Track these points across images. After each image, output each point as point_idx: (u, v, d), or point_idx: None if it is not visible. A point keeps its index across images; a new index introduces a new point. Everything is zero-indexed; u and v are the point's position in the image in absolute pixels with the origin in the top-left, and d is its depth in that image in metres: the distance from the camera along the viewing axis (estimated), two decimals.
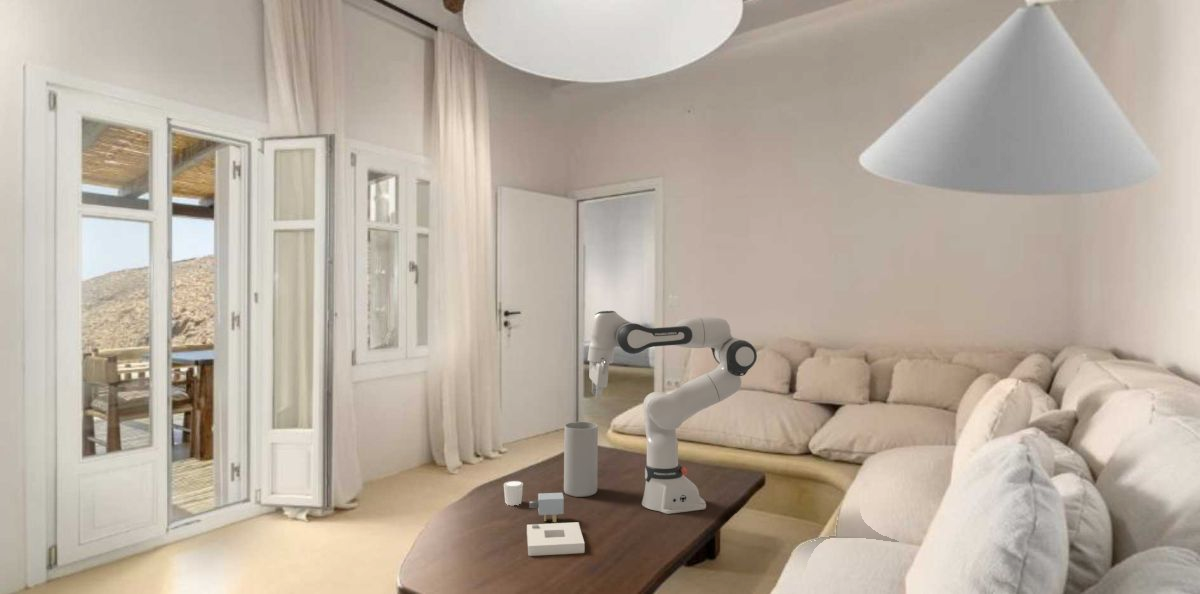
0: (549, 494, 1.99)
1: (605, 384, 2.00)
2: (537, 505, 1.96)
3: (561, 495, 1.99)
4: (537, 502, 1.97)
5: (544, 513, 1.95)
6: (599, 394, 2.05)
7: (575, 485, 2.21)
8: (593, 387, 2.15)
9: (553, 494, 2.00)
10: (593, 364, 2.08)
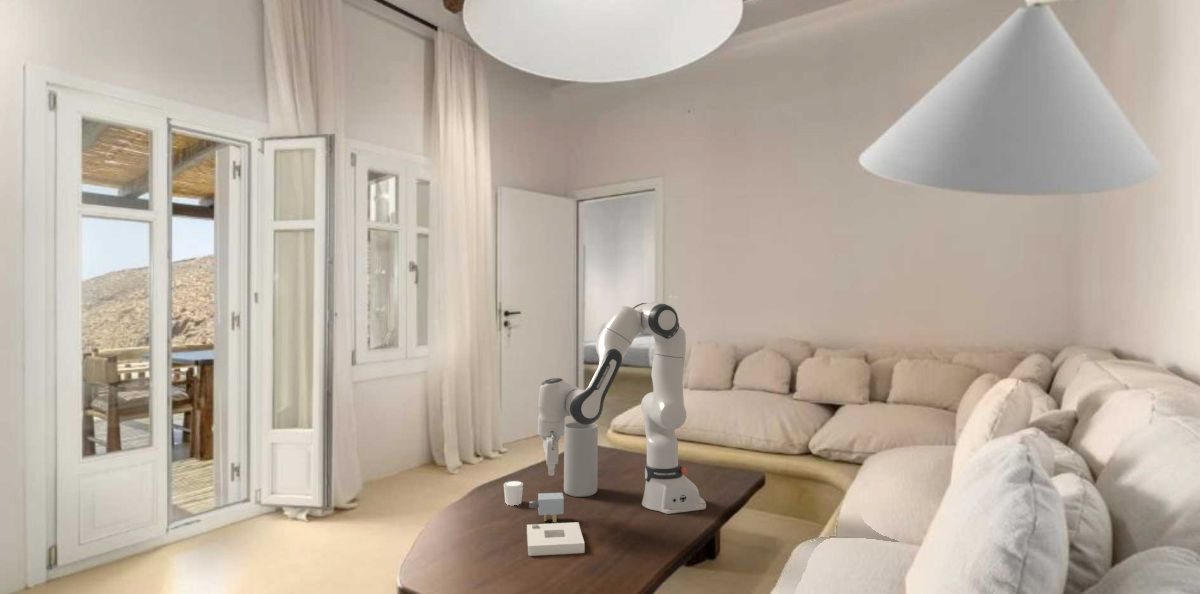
0: (549, 494, 1.99)
1: (556, 461, 1.88)
2: (537, 505, 1.96)
3: (561, 495, 1.99)
4: (537, 502, 1.97)
5: (544, 513, 1.95)
6: (552, 470, 1.92)
7: (575, 485, 2.21)
8: None
9: (553, 494, 2.00)
10: (543, 438, 1.96)
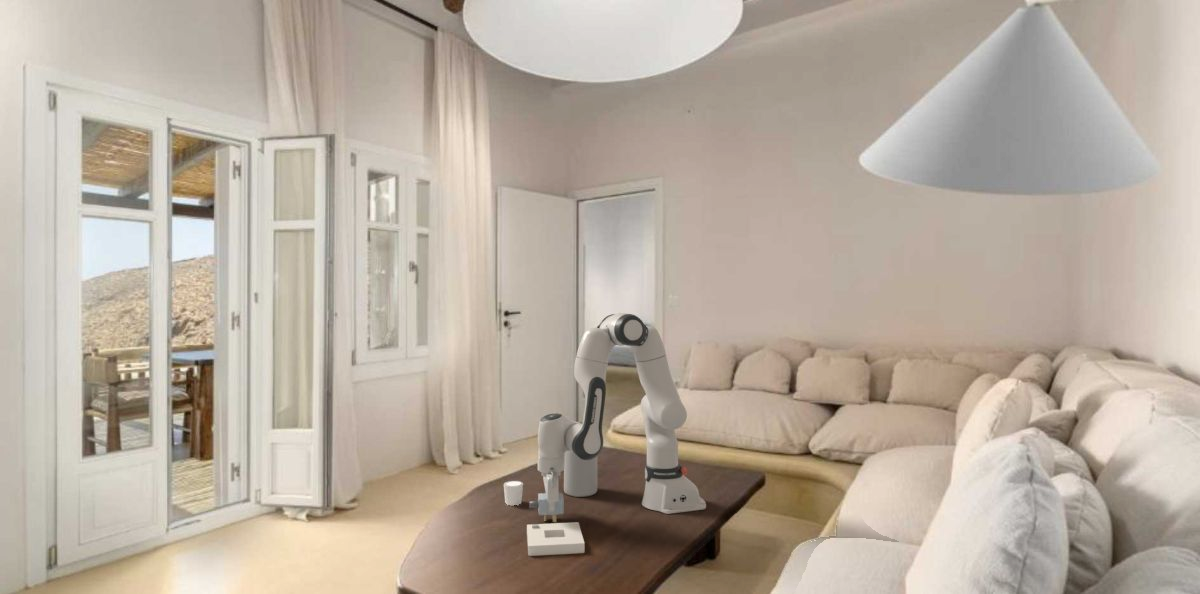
0: None
1: (556, 498, 1.88)
2: (537, 505, 1.96)
3: (561, 495, 1.99)
4: (537, 502, 1.97)
5: (544, 513, 1.95)
6: (552, 506, 1.94)
7: (575, 485, 2.21)
8: None
9: None
10: (543, 474, 1.96)
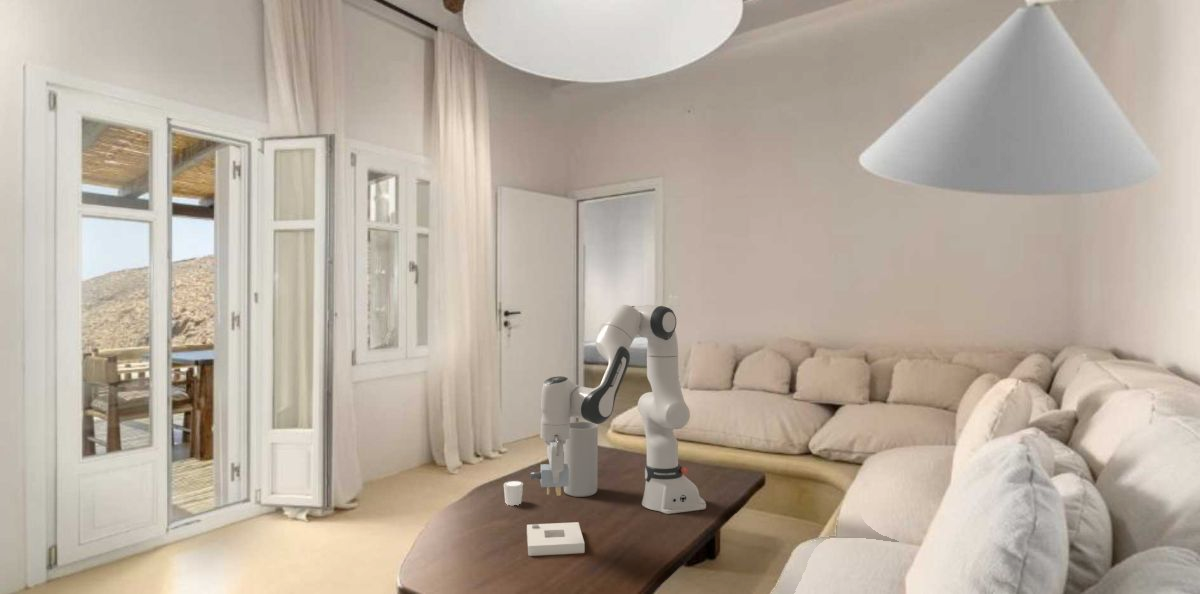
0: None
1: (561, 468, 1.71)
2: (539, 476, 1.79)
3: (566, 466, 1.81)
4: (539, 473, 1.79)
5: (547, 485, 1.77)
6: (556, 477, 1.76)
7: (575, 485, 2.21)
8: None
9: None
10: (547, 442, 1.78)
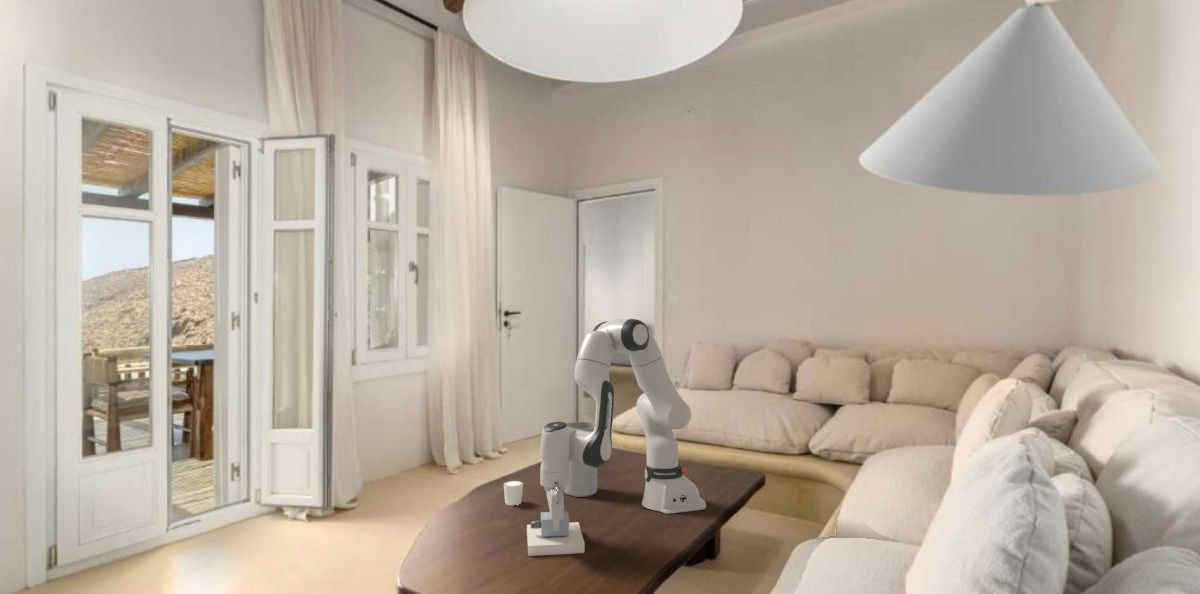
0: None
1: (561, 517, 1.70)
2: (540, 525, 1.79)
3: (566, 514, 1.81)
4: (540, 522, 1.79)
5: (547, 534, 1.77)
6: (556, 525, 1.75)
7: (575, 485, 2.21)
8: None
9: None
10: (547, 489, 1.78)
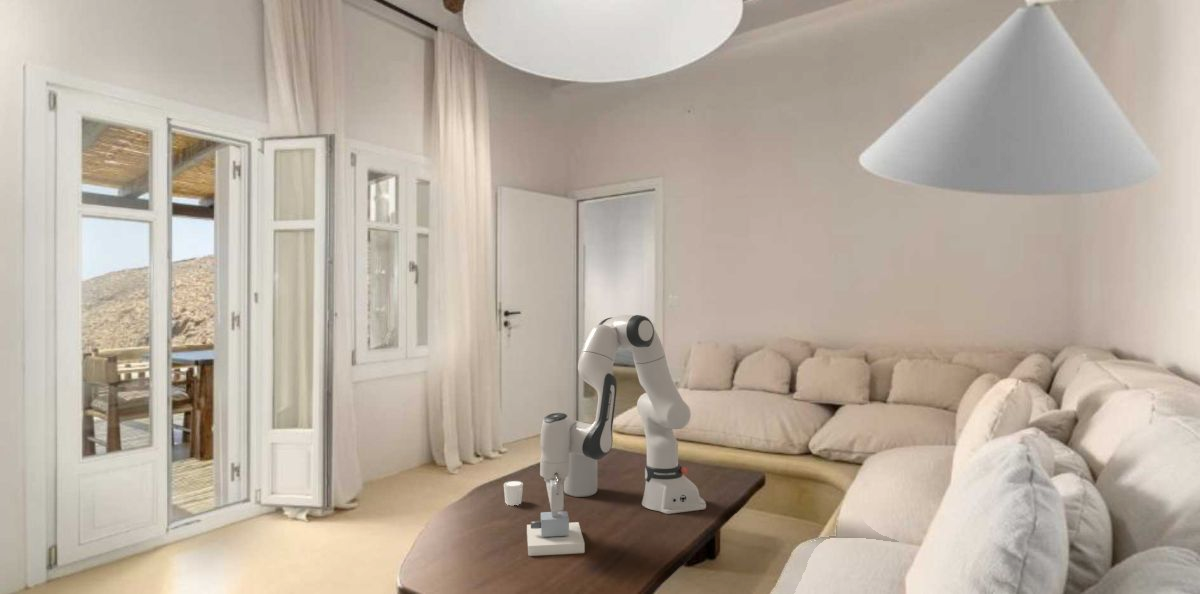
0: None
1: (561, 507, 1.70)
2: (540, 526, 1.79)
3: (566, 514, 1.81)
4: (540, 522, 1.79)
5: (547, 535, 1.77)
6: (555, 511, 1.79)
7: (575, 485, 2.21)
8: None
9: None
10: (546, 480, 1.78)
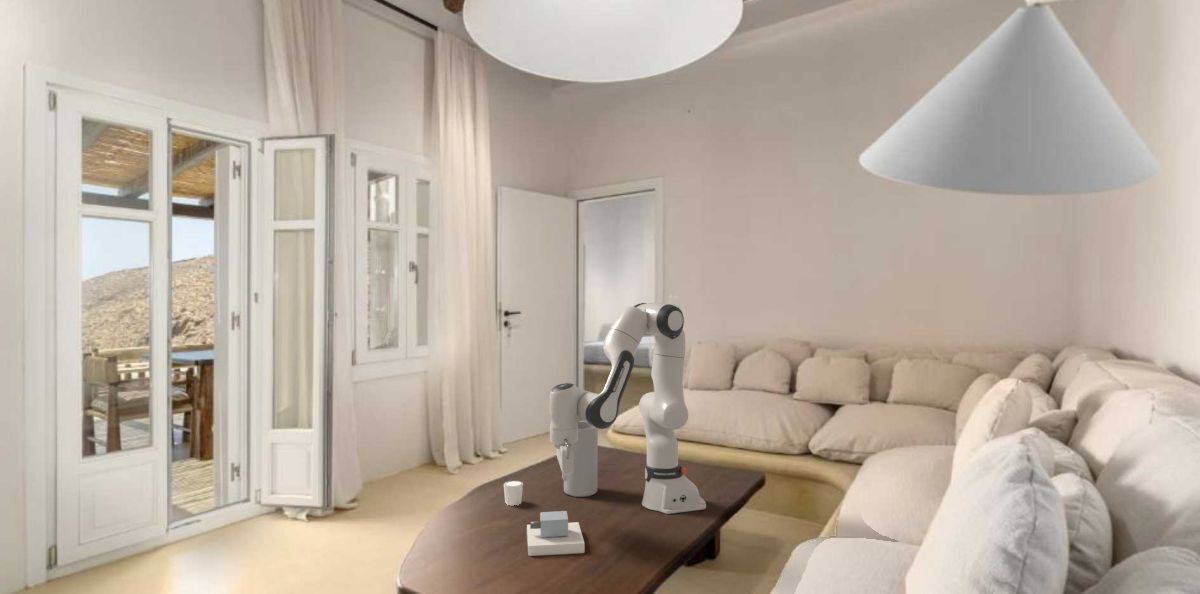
0: (552, 514, 1.81)
1: (571, 470, 1.80)
2: (539, 526, 1.78)
3: (565, 514, 1.80)
4: (539, 523, 1.79)
5: (547, 535, 1.77)
6: (566, 475, 1.89)
7: (575, 485, 2.21)
8: None
9: (556, 513, 1.81)
10: (556, 446, 1.88)
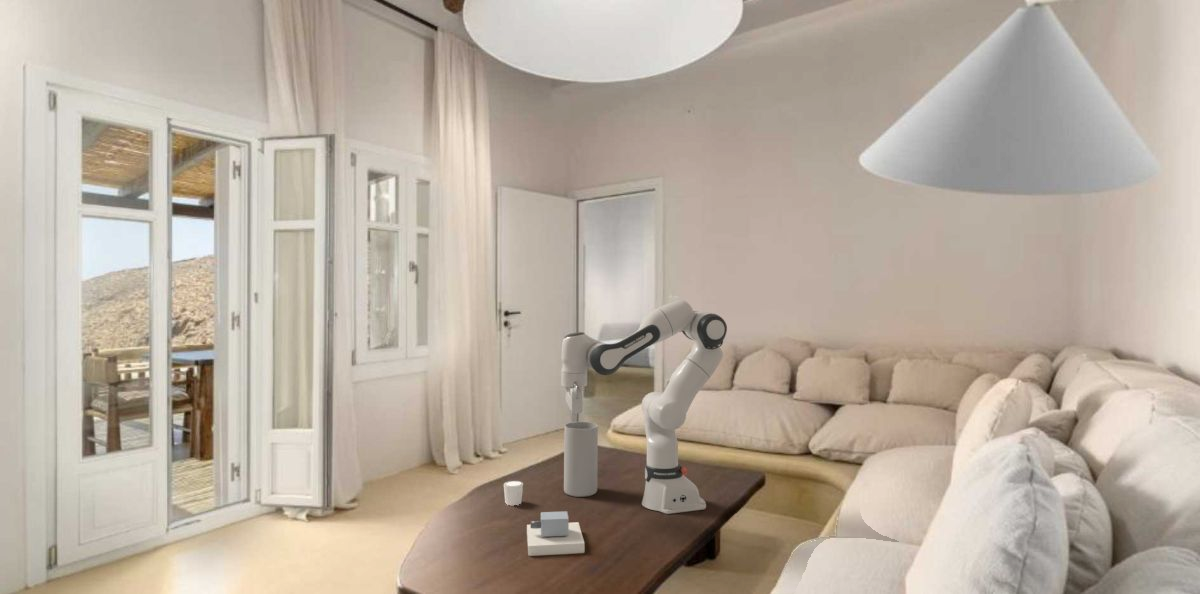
0: (552, 514, 1.81)
1: (580, 409, 1.95)
2: (539, 525, 1.79)
3: (566, 514, 1.81)
4: (539, 522, 1.79)
5: (547, 534, 1.77)
6: (574, 417, 2.03)
7: (575, 485, 2.21)
8: None
9: (557, 513, 1.82)
10: (567, 389, 2.03)
